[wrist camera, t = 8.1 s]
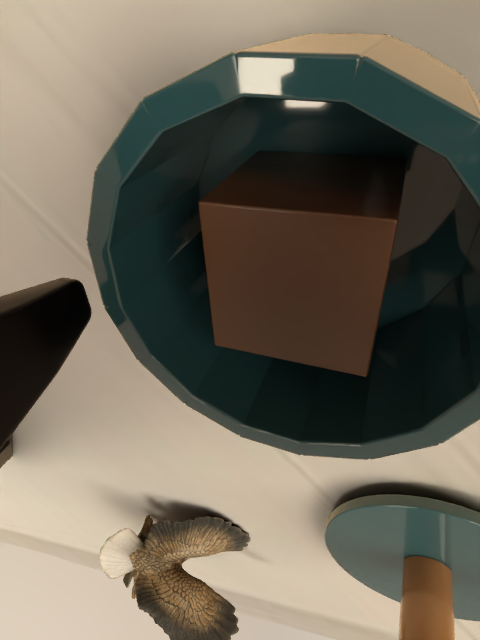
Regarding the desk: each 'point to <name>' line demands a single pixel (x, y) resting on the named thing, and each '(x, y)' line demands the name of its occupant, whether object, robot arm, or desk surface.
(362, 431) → the pot
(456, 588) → the lid
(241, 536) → the eagle figurine
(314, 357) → the block
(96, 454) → the desk surface
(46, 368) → the robot arm
